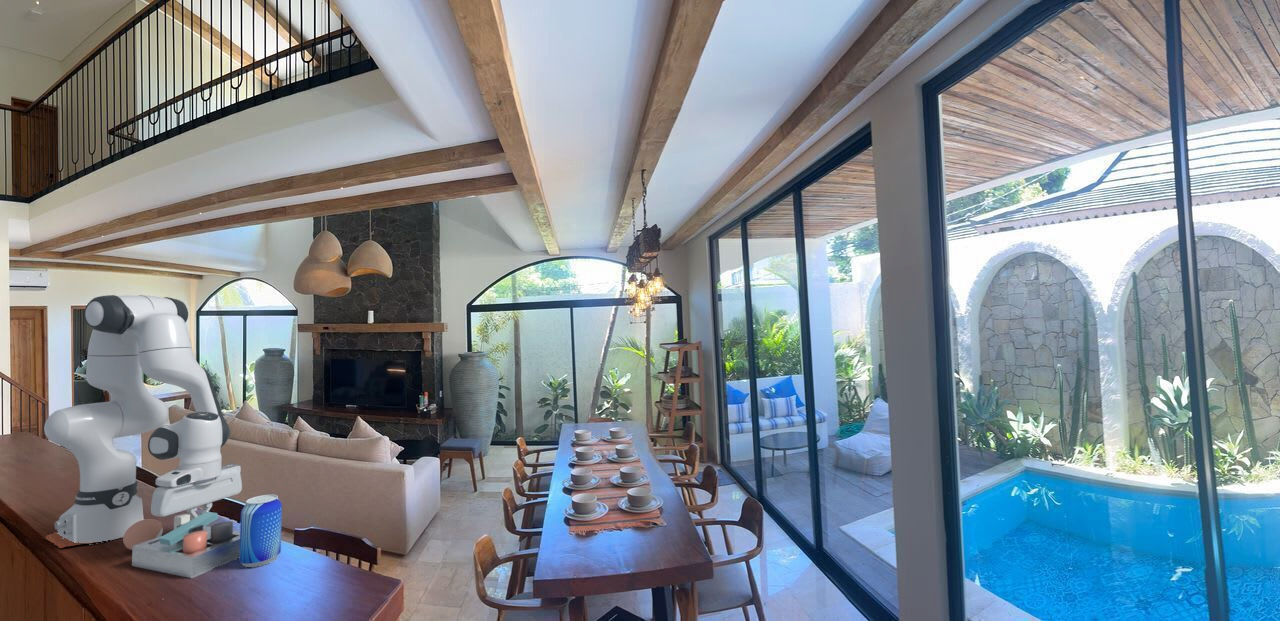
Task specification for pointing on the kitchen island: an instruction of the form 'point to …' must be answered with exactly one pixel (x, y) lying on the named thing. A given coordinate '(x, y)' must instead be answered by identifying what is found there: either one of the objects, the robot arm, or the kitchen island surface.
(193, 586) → the kitchen island surface
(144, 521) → the toy ball
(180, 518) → the slider knob
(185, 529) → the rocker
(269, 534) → the beer can
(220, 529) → the black button
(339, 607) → the kitchen island surface
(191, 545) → the pink rounded cylinder
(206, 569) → the switch box
